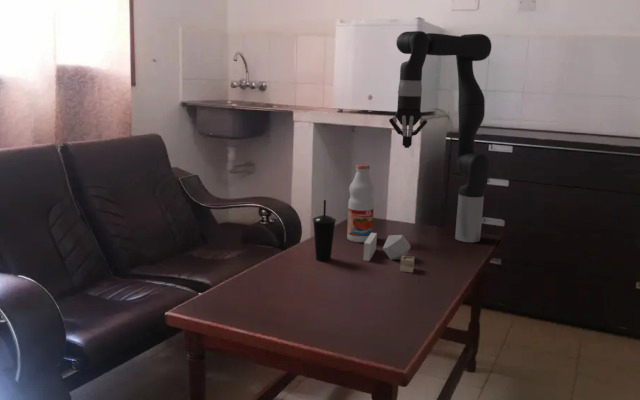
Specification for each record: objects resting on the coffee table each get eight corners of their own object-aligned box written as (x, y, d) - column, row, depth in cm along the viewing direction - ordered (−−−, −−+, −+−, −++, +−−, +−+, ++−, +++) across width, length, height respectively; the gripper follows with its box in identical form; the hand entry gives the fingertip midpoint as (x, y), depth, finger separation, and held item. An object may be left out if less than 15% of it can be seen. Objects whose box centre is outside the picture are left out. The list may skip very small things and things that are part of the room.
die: (406, 265, 201) (418, 239, 204) (383, 252, 200) (396, 227, 203) (396, 266, 209) (408, 242, 212) (375, 254, 208) (387, 229, 211)
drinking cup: (307, 260, 202) (308, 200, 198) (318, 254, 208) (320, 196, 204) (328, 264, 198) (330, 203, 194) (338, 258, 205) (340, 199, 201)
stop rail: (370, 249, 216) (371, 232, 215) (376, 249, 216) (376, 233, 215) (363, 260, 203) (364, 243, 202) (369, 261, 203) (370, 243, 201)
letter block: (401, 267, 197) (402, 255, 196) (413, 268, 196) (414, 256, 196) (400, 271, 193) (400, 259, 193) (412, 272, 193) (413, 260, 192)
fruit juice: (363, 235, 235) (366, 162, 229) (377, 241, 226) (380, 166, 221) (342, 237, 230) (344, 163, 224) (355, 244, 222) (358, 167, 216)
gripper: (431, 95, 202) (427, 147, 205) (391, 93, 205) (388, 145, 208) (429, 95, 194) (425, 150, 198) (388, 94, 198) (385, 147, 201)
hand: (406, 147), depth 203 cm, fingers closed
